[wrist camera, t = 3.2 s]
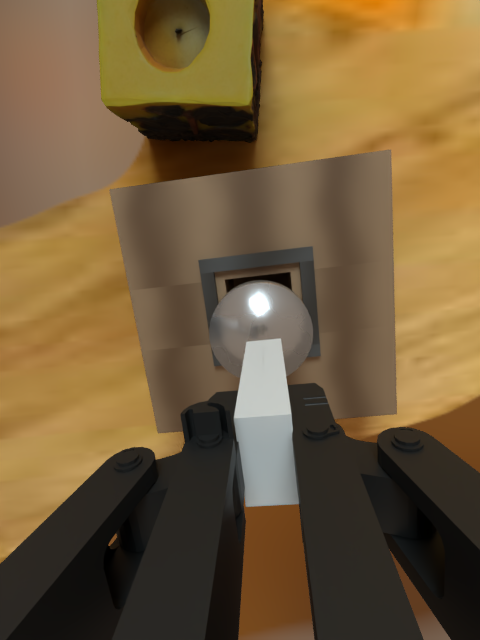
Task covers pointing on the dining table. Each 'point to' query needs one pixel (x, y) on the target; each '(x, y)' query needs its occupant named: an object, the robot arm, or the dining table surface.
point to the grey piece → (260, 324)
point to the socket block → (265, 275)
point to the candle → (182, 66)
